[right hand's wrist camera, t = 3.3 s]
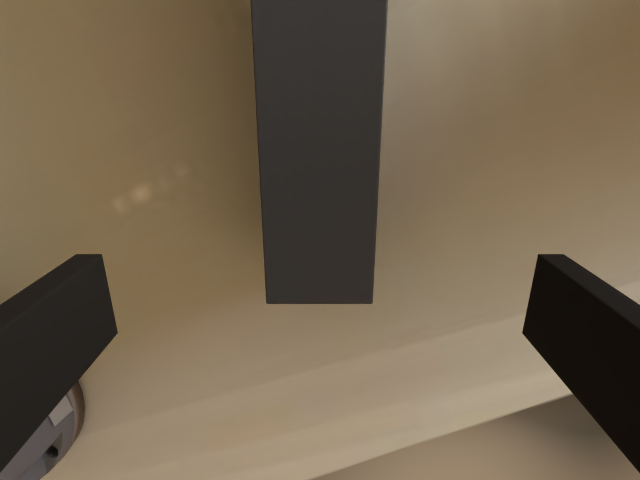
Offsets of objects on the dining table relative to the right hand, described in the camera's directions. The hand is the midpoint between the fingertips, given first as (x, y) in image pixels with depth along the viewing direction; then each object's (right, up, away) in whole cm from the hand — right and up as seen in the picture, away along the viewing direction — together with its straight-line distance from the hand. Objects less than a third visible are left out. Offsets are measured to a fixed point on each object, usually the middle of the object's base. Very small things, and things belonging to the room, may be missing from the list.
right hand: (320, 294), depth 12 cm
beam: (0, +29, +4) cm, 29 cm away
